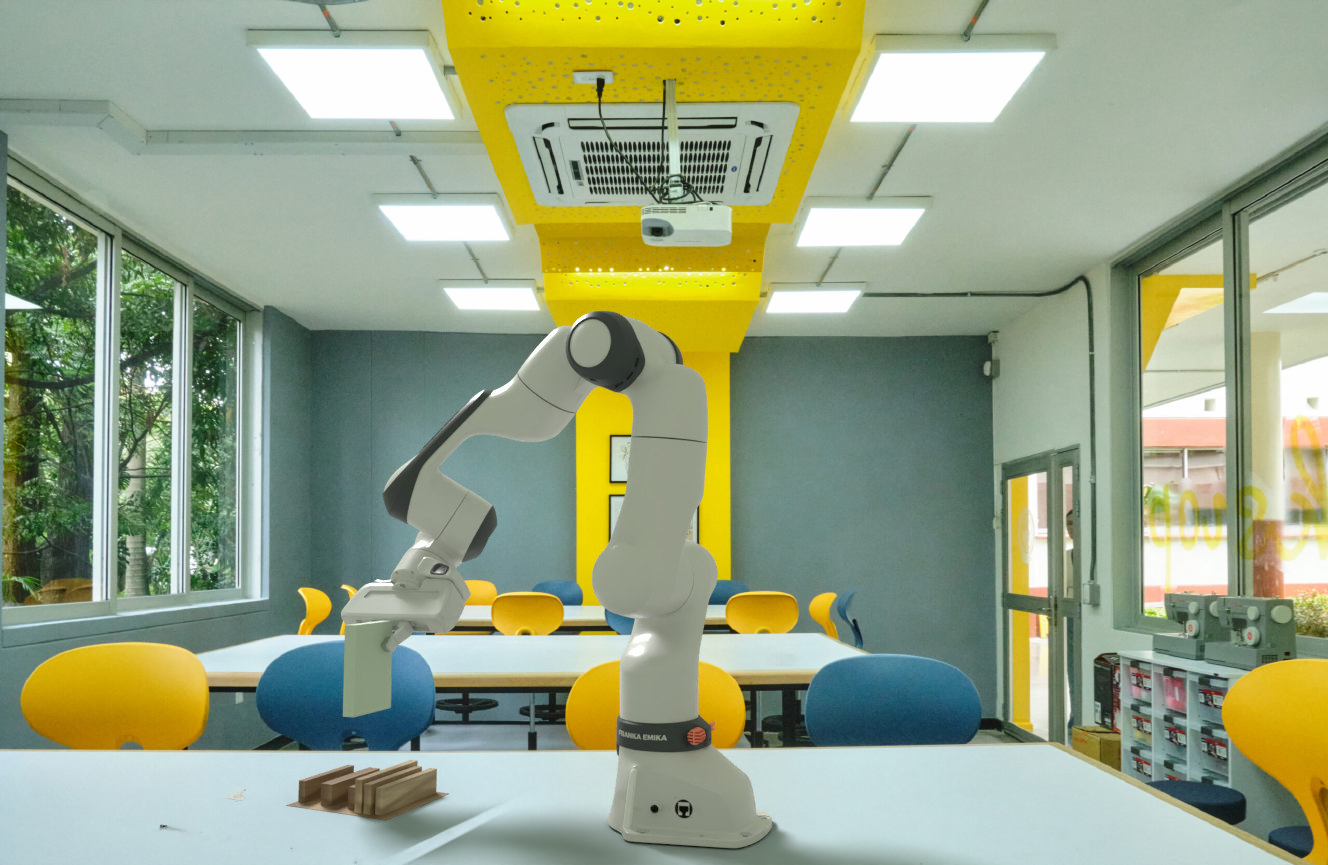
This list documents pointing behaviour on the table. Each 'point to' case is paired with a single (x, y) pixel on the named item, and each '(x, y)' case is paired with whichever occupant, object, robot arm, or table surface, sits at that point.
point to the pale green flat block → (366, 668)
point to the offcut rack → (369, 790)
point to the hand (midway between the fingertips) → (377, 649)
